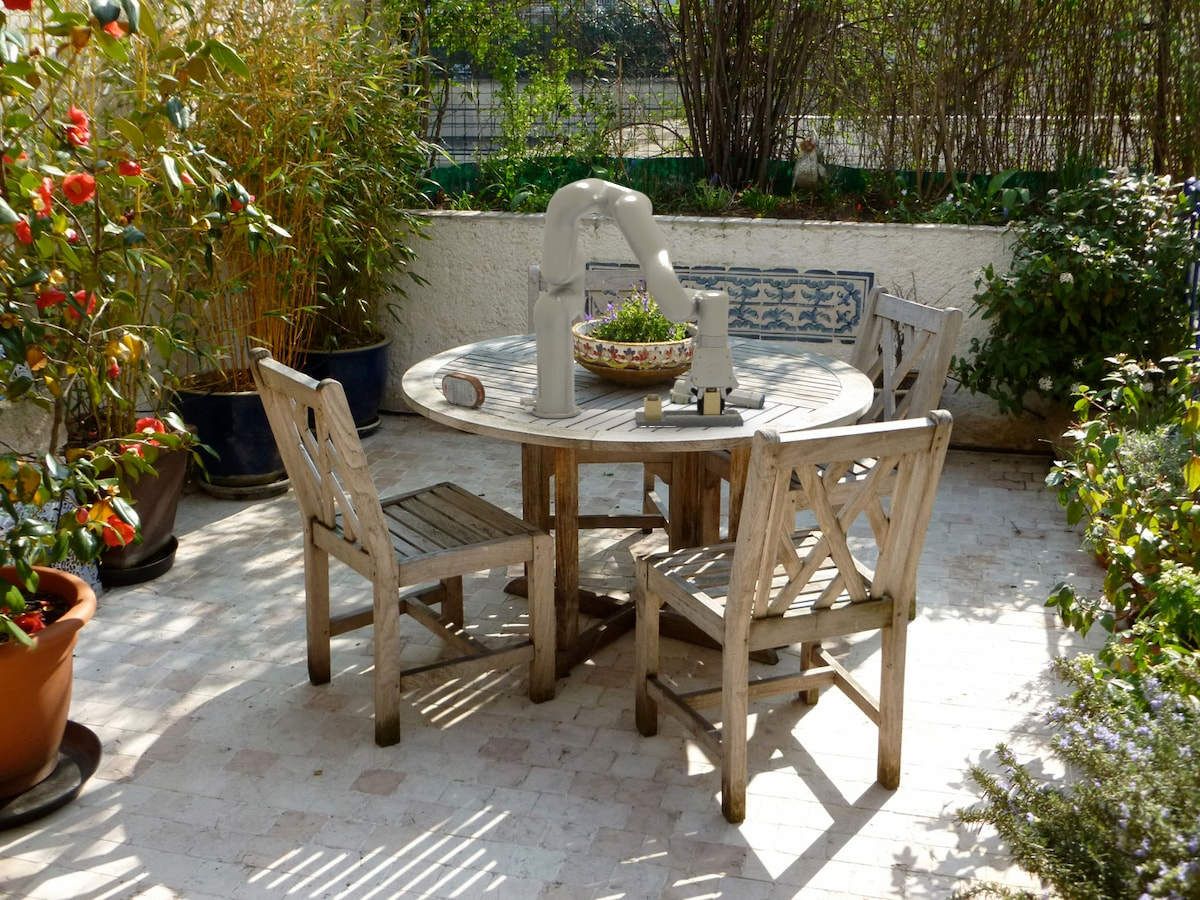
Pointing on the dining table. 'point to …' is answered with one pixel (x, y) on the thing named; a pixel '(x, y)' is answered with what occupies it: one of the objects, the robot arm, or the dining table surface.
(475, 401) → the tin
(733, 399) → the grey flashlight
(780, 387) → the dining table surface
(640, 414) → the bolt plate
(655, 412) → the fixed leg
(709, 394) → the block
